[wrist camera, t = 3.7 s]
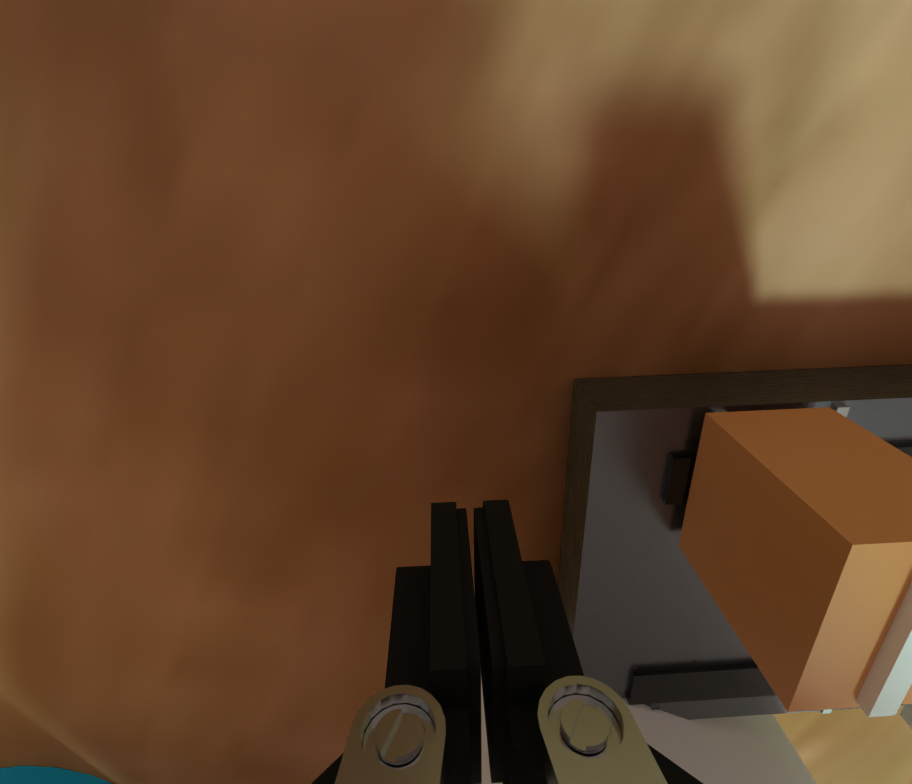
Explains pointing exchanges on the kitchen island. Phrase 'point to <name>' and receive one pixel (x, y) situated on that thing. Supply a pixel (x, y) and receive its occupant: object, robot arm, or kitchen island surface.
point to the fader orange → (808, 553)
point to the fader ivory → (907, 714)
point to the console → (678, 527)
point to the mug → (45, 776)
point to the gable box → (711, 747)
